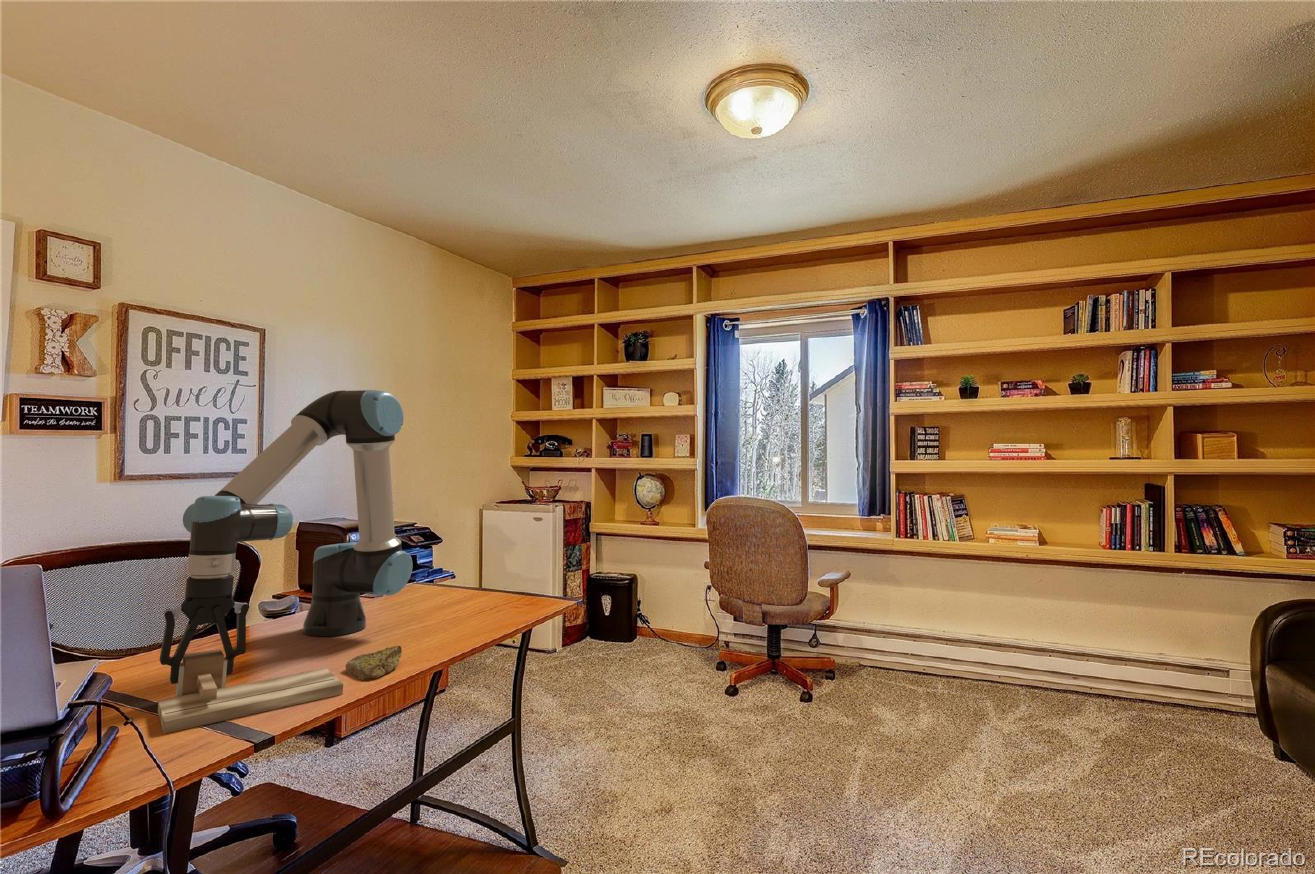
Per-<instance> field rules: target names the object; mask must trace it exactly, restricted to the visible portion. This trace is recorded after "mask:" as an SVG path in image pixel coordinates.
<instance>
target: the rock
mask: <svg viewBox="0 0 1315 874" xmlns="http://www.w3.org/2000/svg"><path fill="white" fill-rule="evenodd" d="M402 651H403V650H402V646H401V645H394V646H391V647H386V648H384V649H381V650H377V651H375V652H370V653H366V654H365V653H363V654H362V653H361V654H359V655H357V656H355V657H353V658H351V659H350V660H348V661H347V662H346V663H345V672H346V674H348V675H351V676H355V678H358V680H362V681H365V680H372V679H377V678H379V677H381V676H384V675H385V674H388V673H389V672H392V670H394V669H395V668H396V667H398V666H399V664H400V659H401V657H402V655H403V652H402Z"/></svg>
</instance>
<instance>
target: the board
mask: <svg viewBox="0 0 1315 874" xmlns="http://www.w3.org/2000/svg"><path fill="white" fill-rule="evenodd" d="M343 694H344V683H343V682H342V681H341V680H340V679H339V678H338V677H336V675H335V674H333V673H332V672H331V671H330V670H329V669H328V668H327V667H325V668H319V669H314V670H308V671H304V672H298V673H293V674H288V675H284V676H283V675H282V676H277V677H272V678H267V679H262V680H257V681H252V682H246V683H242V684H237V685H231V686H225V688H220V689H217V698H216V700H211V702H210V703H205V702H206V701H204V702H203V701H202V699H201V696H200V694H199V693H194V694H189V695H184V696H178V697H175V696H174V697H168V698H165V699H159V700H157V714H158V718H159V721H160V724H161V725H160V726H161V729H162V733H163V735H166V734H170V733H174V732H179V731H183V730H187V729H192V728H196V727H200V726H201V727H202V726H206V725H210V724H215V723H218V722H224V721H227V720H233V719H236V718H241V717H245V716H251V715H254V714H259V713H264V712H268V711H272V710H277V709H281V708H287V707H292V706H295V705H300V704H303V703H309V702H313V701H317V700H322V699H326V698H331V697H336V696H340V695H343Z"/></svg>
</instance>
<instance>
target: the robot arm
mask: <svg viewBox="0 0 1315 874" xmlns="http://www.w3.org/2000/svg"><path fill="white" fill-rule="evenodd" d="M404 418H405V417H404V411H403V407H402V405H401V402H399V400H398V399H397V398H396V397H395V395H393V394H392V393H391V392H388V391H385V390H378V389H377V390H376V389H365V390H344V389H343V390H335V391H331V392H329V393H327V394H324V395H322V396H320V397H318V398H317V399H314V401H312V402H311V403H309V404H308V405H306V406H305V407H304V408H303V409H301V410H300V411H299V412H298V413H297V414H295V416H293V417H292V419H291V420H290V426H288V428H287V429H286V430H284V431H283V433H281V434H280V435H279V436H278V437H277V438H276V439H275V440H274V441H272V442H271V443H270V444H269V445H268V446H267V447H266V448H265V449H264V450H263V451H262V452H261V453H260V454H258V455H257V456H256V457H255V458H254V459H253V460H251V461H250V463H249V464H247V465H246V466H245V467H244V468H243V469H242V470H241V471H239V473H238V474H237V475H235V476H234V477H233V478H232V479H231V480H229V482H228V483H226V485H224V487H222V488H221V489H220V490H218V492H217V493H216V494H214V495H202V496H199V497H198V498H196V499H195V501H194V503H191V504H190V505H189V506H188V507H187V508H186V509H185V510H184V513H183V515H182V525H183V527H184V528H185V530H186V531H187V532H188V533H190V537H189V538H190V539H189V541H190V542H189V553H188V559H187V561H188V562H187V570H186V571H187V572H186V573H187V574H188V578H186V583H185V592H184V593H185V594H184V600H183V602H182V603H181V605H180V606H178V607H174V608H171V609H170V608H166V609H164V611H163V616H164V620H165V625H164V630H163V631H164V632H163V635H162V636H163V637H162V643H161V648H160V655H159V662H160V664H161V665H163V666H165V665H166V666H170V672H169V673H170V674H169V681H170V683H171V684H172V685H173V684H176V685H175V696H174V697H178V696H182V689H183V678H184V664H183V663H182V661H183V657H184V654H186V653H187V650H188V648H189V645H190V644H191V641H192V639H193V638H194V637H193V636H194V635H195V632H196V631H197V629H198V627H199V626H203V625H207V624H211V625H214V624H215V625H216V627H217V630H218V634H219V637H220V641H221V644H222V647H223V652H224V655H225V656H224V664H223V676H222V687H221V688H225V687H226V682H227V680H226V679H227V676H232V674H233V673H234V662H235V658H236V657H238V656H241V655H244V654H245V653H246V649H247V648H246V647H247V641H246V640H247V639H246V637H247V615H248V612H249V609H250V605H249V604H248V603H247V602H245V601H244V602H237V601H235V600H234V598H233V591H234V590H233V589H234V580H235V579H234V578H235V577H234V575H232V574H233V572H235V567H236V565H235V563H236V554H237V553H236V552H237V547H238V543H244V542H257V541H267V540H268V541H272V540H275V539H282V538H285V536H287V535H289V533H290V532H291V531H292V528H293V525H294V524H293V523H294V521H293V520H294V516H293V513H292V511H291V509H290V508H289V507H288V506H286V505H284V504H275V503H269V504H267V503H266V504H259V503H260V502H261V501H262V500H263V499H264V498H265V497H266V496H267V495H268V494H269V493H270V492H271V491H272V490H273V489H274V488H275V487H276V486H277V485H278V484H279V483H280V482H281V481H282V480H283V479H284V478H285V477H286V476H287V475H288V474H289V473H290V472H291V471H293V469H294V468H295V467H296V466H297V465H299V463H300V462H301V461H302V460H303V459H305V457H306V456H307V455H308V454H310V453H311V451H313V450H314V449H315V448H316V446H318V447H319V446H322V445H324V444H325V443H327V442H328V441H329V440H330V439H331V438H333V437H337V436H342V435H343V436H345V444H346V445H347V446H348V447H349V448H351V449H352V451H353V454H352V455H353V467H354V480H355V494H356V497H355V498H356V509H357V524H358V539H359V540H358V541H351V542H343V543H341V542H340V543H335V544H333V543H332V544H327V545H321V546H318V547H317V548H316V549H315V550H314V554H313V561H312V587H311V588H312V593H311V594H312V595H311V603H310V606H309V609H308V611H307V614H306V617H305V618H304V621H303V625H302V626H303V631H302V632H303V634H304V635H307V636H312V637H336V636H341V635H348V634H353V633H356V632H359V631H362V630H364V629H365V628H367V618H366V614H365V611H364V607H363V604H362V601H361V594H366V595H376V596H378V597H379V596H380V597H381V596H393V595H396V594H398V593H400V592H401V591H402V590H403V589H404V588H405V587H406V586H407V583H408V582H409V580H410V578H411V575H412V573H413V559H412V556H411V555H410V553H408V552H406V551H405V550H403V549H402V548H403V547H402V546H403V545H402V540H401V539H400V538H398V537H397V536H396V535H395V533H396V532H395V521H394V520H395V517H394V504H393V502H394V501H393V490H392V489H393V488H392V474H391V473H392V471H391V454H390V447H391V446H392V445H393V444H394V443H395V441H396V436H395V435H397V434H398V433H399V432H400V431H401V429H402V426H403V425H404ZM233 608H234V613H235V614H236V647H233V645H232V641H231V638H230V636H229V631H228V628H227V624H226V621H225V617H226V616H227V615H228V613H230V612H231V610H232V609H233ZM182 613H183V614H184V615H185V617H186V618H188V622H187V625H186V628H185V629H184V632H183V634H182V636H181V638H180V639H179V640H180V641H179V643H178V645H177V646H176V649H175V652H174V654H173V655H172V656H171V650H172V644H173V643H172V642H173V639H174V634H175V633H174V632H175V627H176V624H175V623H176V621H177V620H179V617H180V614H182ZM363 628H364V629H363Z"/></svg>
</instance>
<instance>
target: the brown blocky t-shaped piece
mask: <svg viewBox="0 0 1315 874" xmlns="http://www.w3.org/2000/svg"><path fill="white" fill-rule="evenodd" d="M224 657H225V653H223V651H222V649H220V648H218V649H212V650H205V651H196V652H188V653H187V652H186V653H185V654H184V657H183V659H182V661H181V663H183V664H184V678H183V689H182V696H184V695H189V694H194V693H199V694H200V696H201V699H202V701H203V702H204V701H206V702H205V703H210V702H211V700H216V698H217V689H220V688H221V687H222V676H223V664H224Z"/></svg>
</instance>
